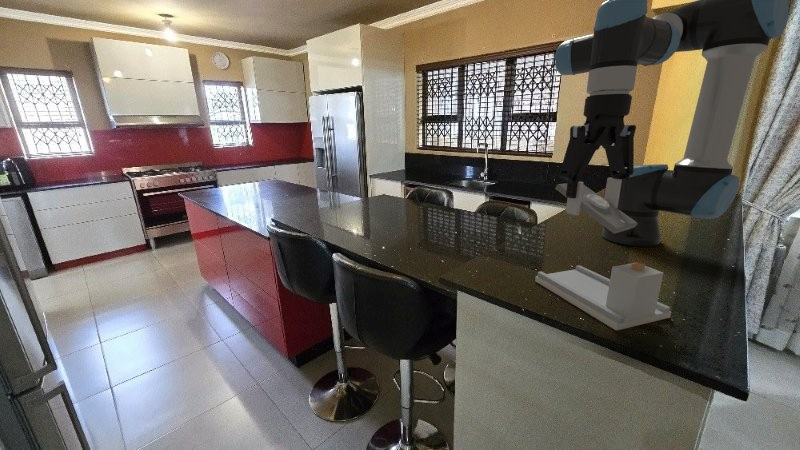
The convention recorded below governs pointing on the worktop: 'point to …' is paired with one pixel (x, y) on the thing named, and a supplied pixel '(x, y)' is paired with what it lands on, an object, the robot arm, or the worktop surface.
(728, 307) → the worktop surface
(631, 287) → the rail board
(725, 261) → the worktop surface
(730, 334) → the worktop surface
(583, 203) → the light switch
